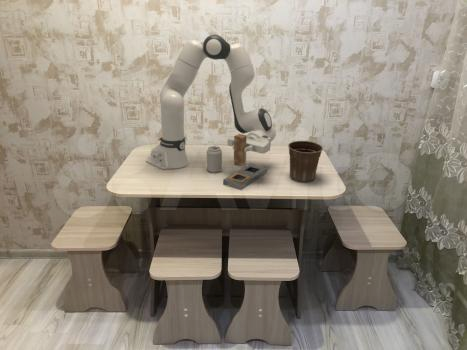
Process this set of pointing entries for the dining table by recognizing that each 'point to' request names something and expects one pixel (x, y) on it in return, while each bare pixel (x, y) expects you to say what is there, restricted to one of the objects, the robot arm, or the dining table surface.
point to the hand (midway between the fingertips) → (239, 148)
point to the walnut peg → (239, 150)
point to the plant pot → (304, 160)
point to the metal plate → (245, 176)
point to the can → (214, 159)
